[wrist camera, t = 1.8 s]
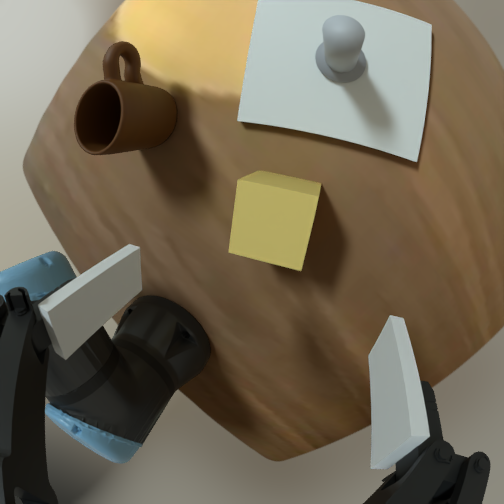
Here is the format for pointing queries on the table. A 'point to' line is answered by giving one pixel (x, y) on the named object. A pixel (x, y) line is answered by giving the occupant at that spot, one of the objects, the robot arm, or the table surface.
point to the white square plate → (339, 72)
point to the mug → (123, 108)
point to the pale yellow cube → (273, 218)
